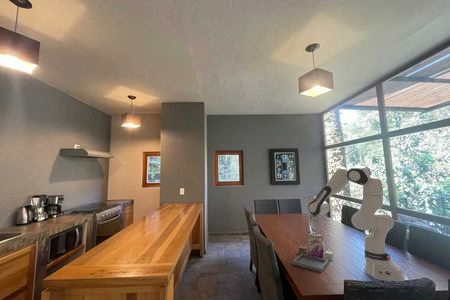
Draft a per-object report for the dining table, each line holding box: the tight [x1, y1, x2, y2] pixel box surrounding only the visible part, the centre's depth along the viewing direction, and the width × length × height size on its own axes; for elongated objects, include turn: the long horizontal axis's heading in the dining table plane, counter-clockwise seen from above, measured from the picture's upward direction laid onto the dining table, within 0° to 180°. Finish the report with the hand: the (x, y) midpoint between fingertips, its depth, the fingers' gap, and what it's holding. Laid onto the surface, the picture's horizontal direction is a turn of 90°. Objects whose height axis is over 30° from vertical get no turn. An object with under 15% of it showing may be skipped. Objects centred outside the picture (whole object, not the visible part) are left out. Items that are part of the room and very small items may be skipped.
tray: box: [292, 254, 330, 273], centre depth 152 cm, size 20×18×2 cm
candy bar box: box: [307, 233, 324, 258], centre depth 167 cm, size 11×5×16 cm, turn 70°
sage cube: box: [323, 250, 334, 261], centre depth 160 cm, size 5×5×5 cm
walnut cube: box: [298, 245, 308, 255], centre depth 172 cm, size 5×5×5 cm
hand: (314, 233), depth 168 cm, fingers open, 8 cm apart
